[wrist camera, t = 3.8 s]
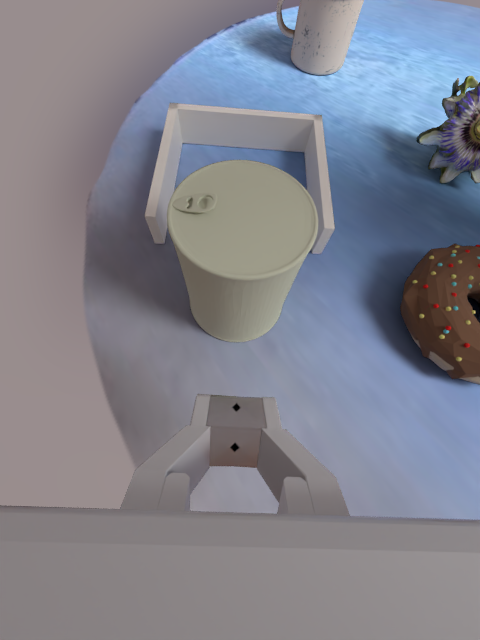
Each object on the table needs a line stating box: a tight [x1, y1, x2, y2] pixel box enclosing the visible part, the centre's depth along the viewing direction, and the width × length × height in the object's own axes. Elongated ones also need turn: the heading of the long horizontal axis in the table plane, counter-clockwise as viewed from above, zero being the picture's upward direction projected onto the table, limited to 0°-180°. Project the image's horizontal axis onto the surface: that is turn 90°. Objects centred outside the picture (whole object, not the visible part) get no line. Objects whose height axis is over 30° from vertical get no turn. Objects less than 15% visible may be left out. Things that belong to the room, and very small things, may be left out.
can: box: [167, 160, 318, 342], centre depth 21 cm, size 9×9×12 cm
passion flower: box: [417, 76, 480, 183], centre depth 32 cm, size 11×11×12 cm
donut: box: [400, 244, 480, 384], centre depth 25 cm, size 14×14×5 cm
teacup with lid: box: [277, 0, 364, 75], centre depth 38 cm, size 12×9×12 cm
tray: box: [145, 103, 335, 254], centre depth 30 cm, size 17×18×4 cm
